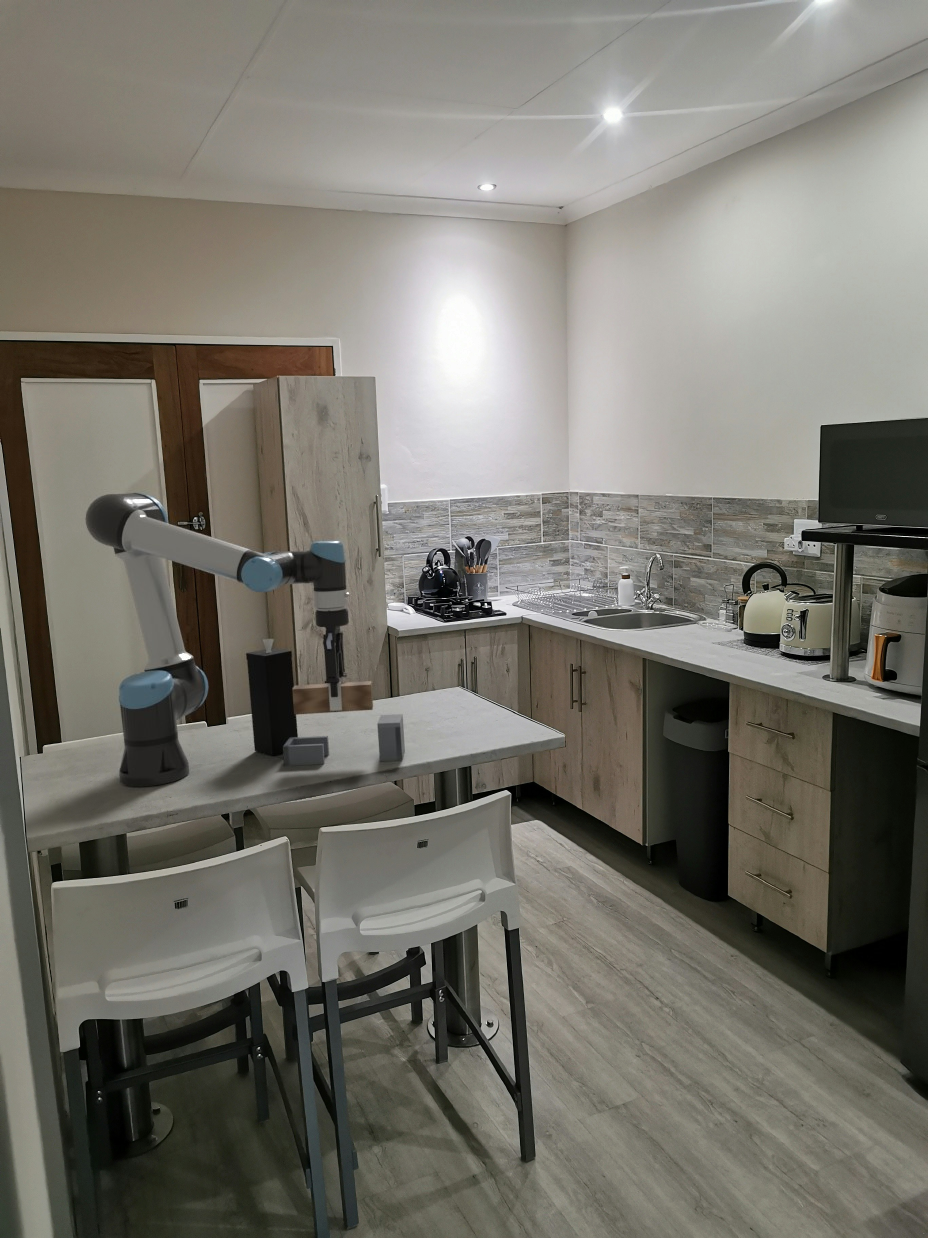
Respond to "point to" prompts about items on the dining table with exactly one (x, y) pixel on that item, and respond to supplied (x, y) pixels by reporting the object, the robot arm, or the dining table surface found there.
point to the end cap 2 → (391, 737)
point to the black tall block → (271, 698)
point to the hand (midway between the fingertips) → (337, 707)
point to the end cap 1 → (305, 750)
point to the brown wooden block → (317, 697)
